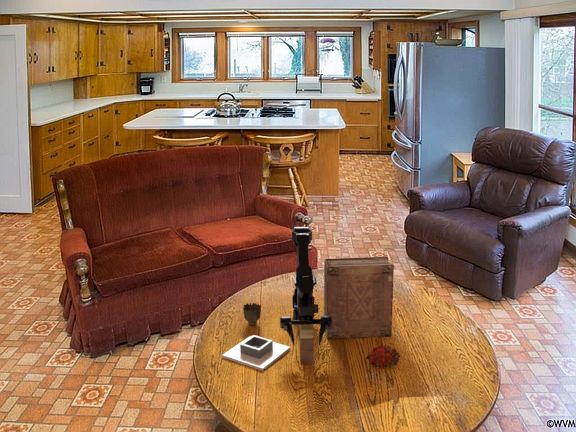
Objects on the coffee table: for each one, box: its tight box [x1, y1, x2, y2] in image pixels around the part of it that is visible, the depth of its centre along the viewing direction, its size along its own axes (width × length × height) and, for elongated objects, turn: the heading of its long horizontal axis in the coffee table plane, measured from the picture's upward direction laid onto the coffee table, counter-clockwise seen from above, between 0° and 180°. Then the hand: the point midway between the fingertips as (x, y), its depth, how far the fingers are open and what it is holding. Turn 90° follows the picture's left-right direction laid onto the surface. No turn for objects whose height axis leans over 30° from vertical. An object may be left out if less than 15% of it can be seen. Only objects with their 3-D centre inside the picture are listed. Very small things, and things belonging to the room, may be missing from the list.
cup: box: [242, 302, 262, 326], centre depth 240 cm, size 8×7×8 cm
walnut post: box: [299, 324, 314, 365], centre depth 211 cm, size 5×5×13 cm
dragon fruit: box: [365, 344, 401, 370], centre depth 207 cm, size 8×8×12 cm
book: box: [323, 255, 395, 340], centre depth 229 cm, size 25×9×30 cm, turn 95°
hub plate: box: [222, 334, 291, 372], centre depth 217 cm, size 18×18×4 cm
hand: (306, 345), depth 210 cm, fingers open, 9 cm apart
